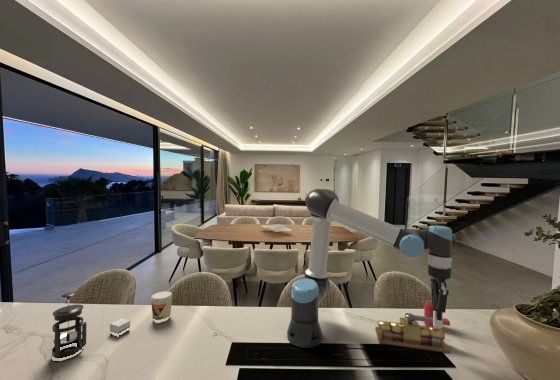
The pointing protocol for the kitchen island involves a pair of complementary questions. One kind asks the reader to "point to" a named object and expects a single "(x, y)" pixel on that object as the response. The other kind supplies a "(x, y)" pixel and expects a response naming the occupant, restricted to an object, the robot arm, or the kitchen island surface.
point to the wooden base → (411, 335)
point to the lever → (424, 319)
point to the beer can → (428, 311)
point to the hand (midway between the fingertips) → (437, 326)
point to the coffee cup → (161, 305)
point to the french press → (68, 329)
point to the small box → (119, 325)
